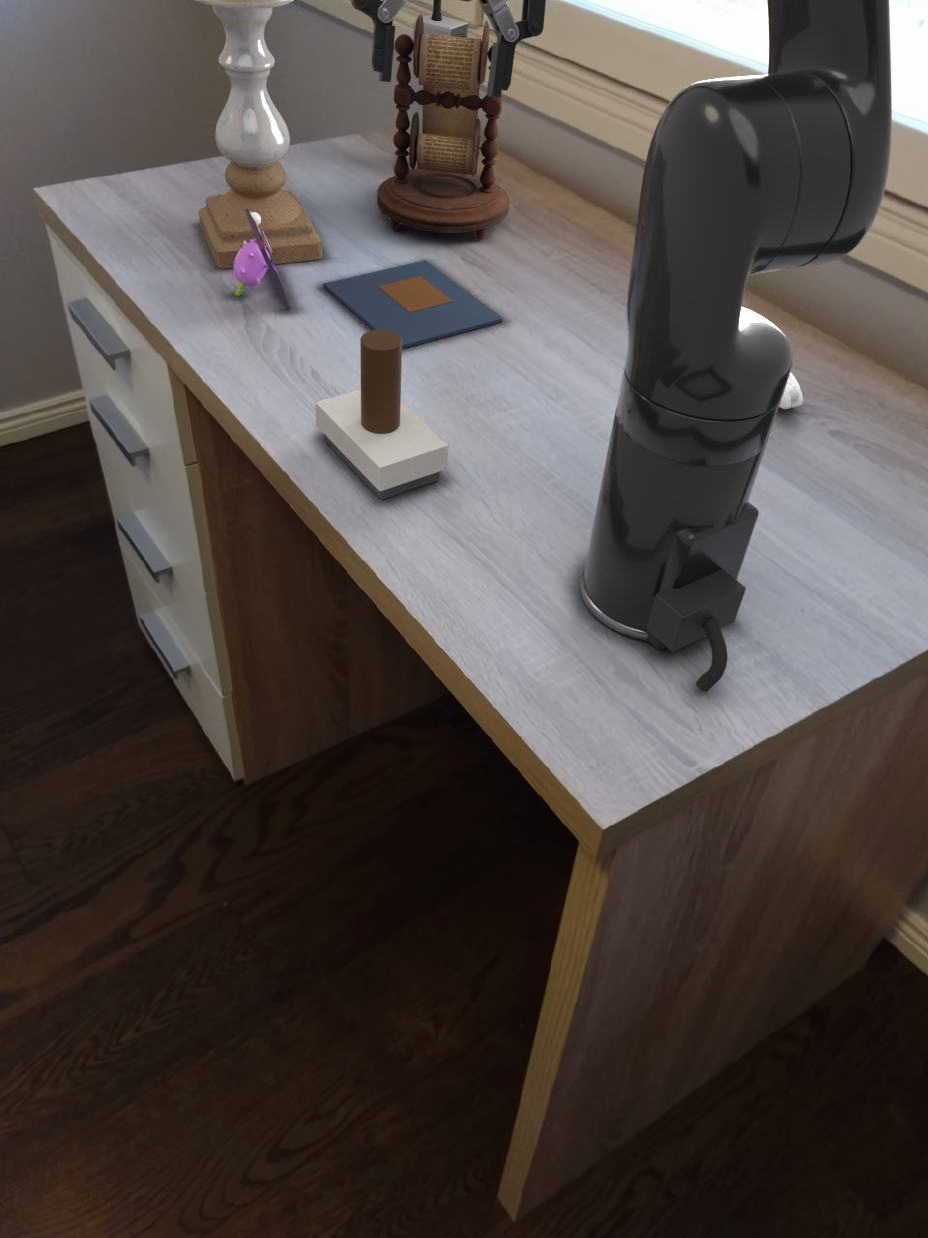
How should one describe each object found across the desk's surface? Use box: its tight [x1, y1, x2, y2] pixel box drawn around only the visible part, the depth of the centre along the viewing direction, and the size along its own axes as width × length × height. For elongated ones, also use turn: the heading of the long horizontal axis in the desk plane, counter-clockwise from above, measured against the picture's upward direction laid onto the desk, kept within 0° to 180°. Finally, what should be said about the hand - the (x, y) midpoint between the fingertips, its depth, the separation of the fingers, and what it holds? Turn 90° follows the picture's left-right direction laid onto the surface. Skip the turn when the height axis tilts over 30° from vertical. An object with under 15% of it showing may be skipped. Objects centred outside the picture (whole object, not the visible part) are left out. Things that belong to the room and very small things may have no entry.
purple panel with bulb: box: [233, 208, 292, 311], centre depth 98 cm, size 7×5×9 cm
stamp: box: [314, 329, 449, 501], centre depth 77 cm, size 10×6×10 cm, turn 34°
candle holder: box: [193, 0, 324, 269], centre depth 99 cm, size 11×11×24 cm
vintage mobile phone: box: [408, 0, 469, 170], centre depth 115 cm, size 4×5×25 cm
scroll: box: [376, 14, 510, 241], centre depth 108 cm, size 15×15×20 cm
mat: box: [322, 259, 504, 350], centre depth 100 cm, size 14×12×1 cm
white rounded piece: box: [779, 371, 804, 410], centre depth 91 cm, size 3×8×3 cm, turn 17°
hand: (440, 89), depth 78 cm, fingers open, 8 cm apart
